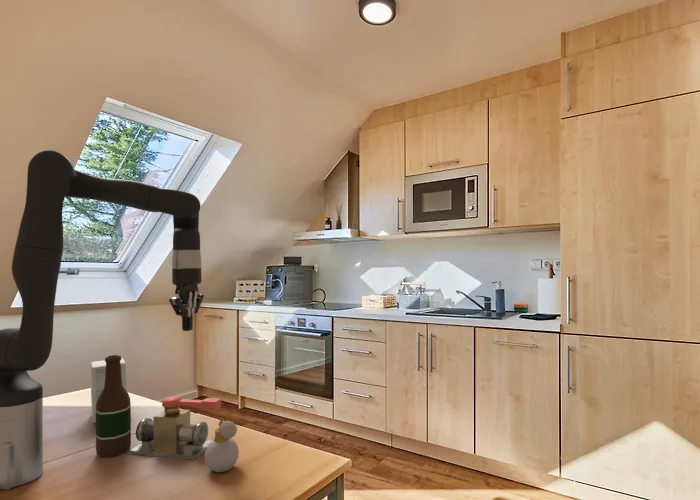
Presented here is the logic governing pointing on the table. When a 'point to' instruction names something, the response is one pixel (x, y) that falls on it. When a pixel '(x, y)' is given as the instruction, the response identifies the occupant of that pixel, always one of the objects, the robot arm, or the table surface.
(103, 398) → the beer bottle
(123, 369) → the supplement box
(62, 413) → the table surface
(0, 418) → the robot arm
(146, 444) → the valve
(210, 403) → the lever
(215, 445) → the perfume bottle
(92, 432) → the table surface
